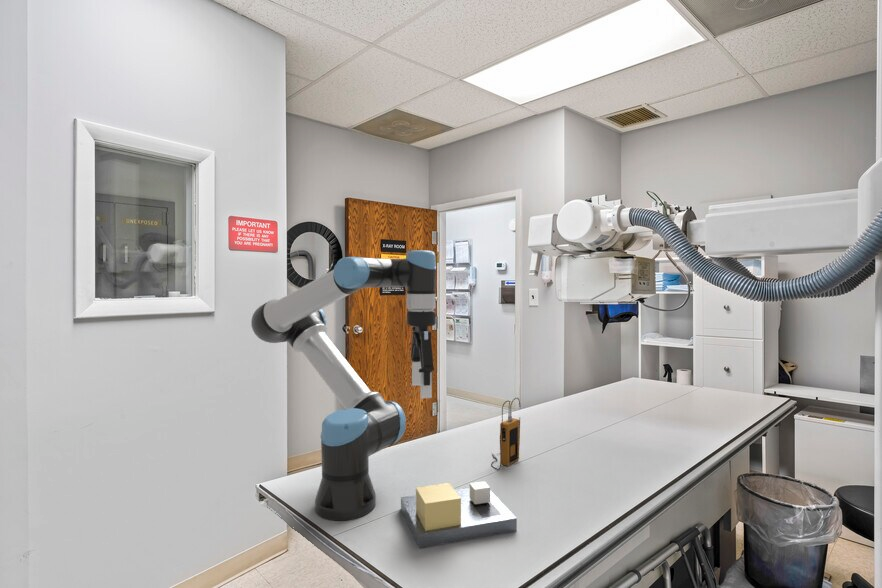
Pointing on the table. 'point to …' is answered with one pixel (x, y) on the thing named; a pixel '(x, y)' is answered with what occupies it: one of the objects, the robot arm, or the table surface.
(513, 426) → the multimeter
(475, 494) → the block
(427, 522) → the cap
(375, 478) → the table surface
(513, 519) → the breaker panel
